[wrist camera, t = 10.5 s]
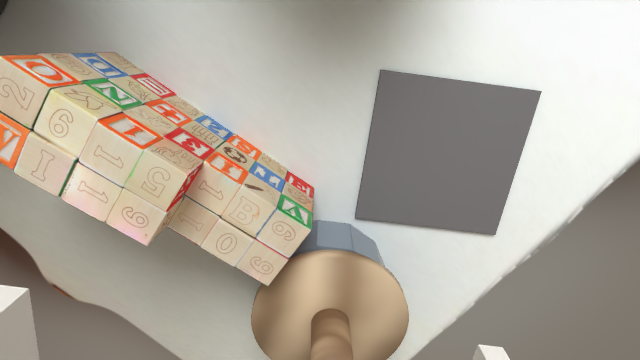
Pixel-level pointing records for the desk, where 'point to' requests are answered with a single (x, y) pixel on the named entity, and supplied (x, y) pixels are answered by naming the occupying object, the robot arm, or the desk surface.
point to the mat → (443, 151)
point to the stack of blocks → (147, 160)
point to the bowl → (338, 240)
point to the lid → (330, 309)
